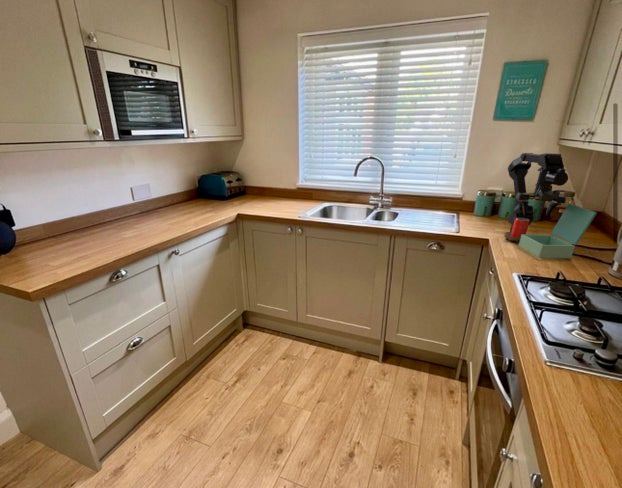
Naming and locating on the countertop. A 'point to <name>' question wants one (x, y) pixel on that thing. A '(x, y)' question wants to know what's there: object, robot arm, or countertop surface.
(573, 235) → the lid
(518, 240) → the stool
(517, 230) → the can
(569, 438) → the countertop surface
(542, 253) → the green hinged box
